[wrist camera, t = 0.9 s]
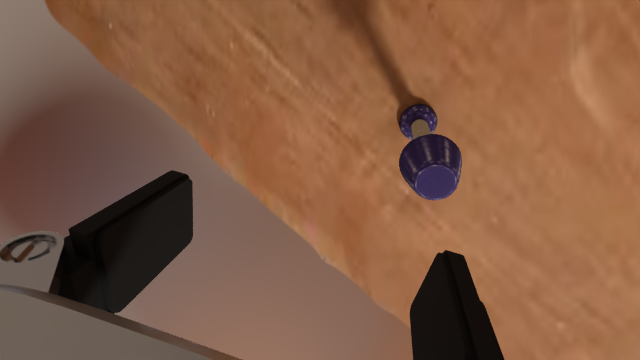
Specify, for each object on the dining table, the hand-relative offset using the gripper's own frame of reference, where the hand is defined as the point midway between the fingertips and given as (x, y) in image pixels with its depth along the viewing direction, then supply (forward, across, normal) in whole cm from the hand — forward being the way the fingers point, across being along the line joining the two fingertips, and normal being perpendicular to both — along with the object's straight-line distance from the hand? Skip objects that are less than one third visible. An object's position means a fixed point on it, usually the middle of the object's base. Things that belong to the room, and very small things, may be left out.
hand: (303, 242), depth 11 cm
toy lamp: (+27, -7, +1) cm, 28 cm away
